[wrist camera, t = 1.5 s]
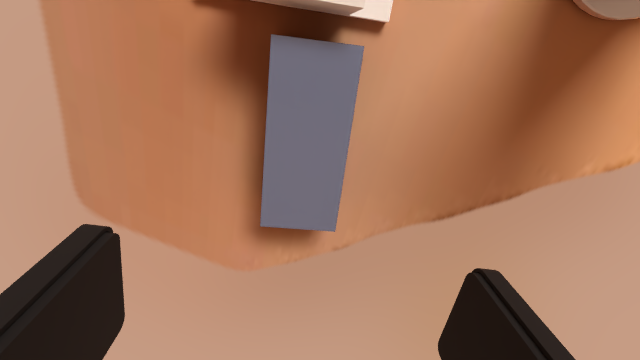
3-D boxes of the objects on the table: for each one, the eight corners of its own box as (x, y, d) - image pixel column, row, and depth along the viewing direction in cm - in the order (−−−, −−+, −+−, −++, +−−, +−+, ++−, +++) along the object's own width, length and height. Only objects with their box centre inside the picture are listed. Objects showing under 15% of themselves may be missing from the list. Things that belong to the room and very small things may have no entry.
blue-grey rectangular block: (352, 45, 26) (364, 46, 21) (329, 203, 31) (335, 231, 27) (275, 35, 25) (271, 34, 21) (265, 198, 31) (260, 226, 26)
